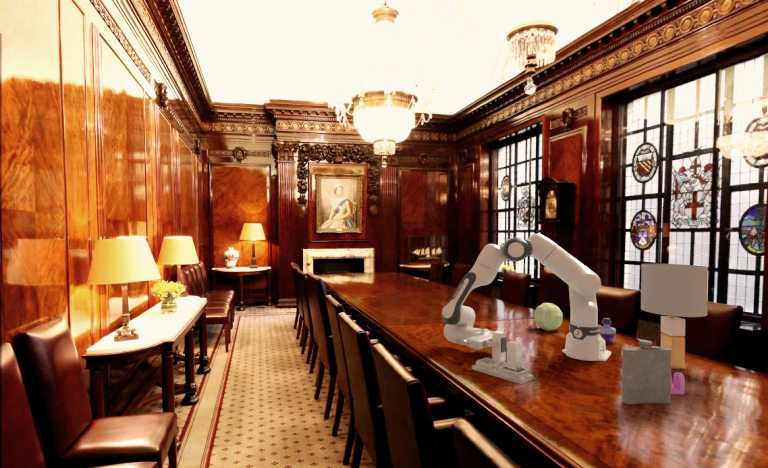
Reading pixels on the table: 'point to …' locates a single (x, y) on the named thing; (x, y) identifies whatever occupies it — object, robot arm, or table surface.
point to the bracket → (678, 384)
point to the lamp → (674, 301)
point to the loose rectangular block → (499, 346)
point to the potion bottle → (607, 331)
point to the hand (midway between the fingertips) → (500, 344)
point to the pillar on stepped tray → (509, 371)
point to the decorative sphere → (548, 316)
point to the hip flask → (646, 374)
